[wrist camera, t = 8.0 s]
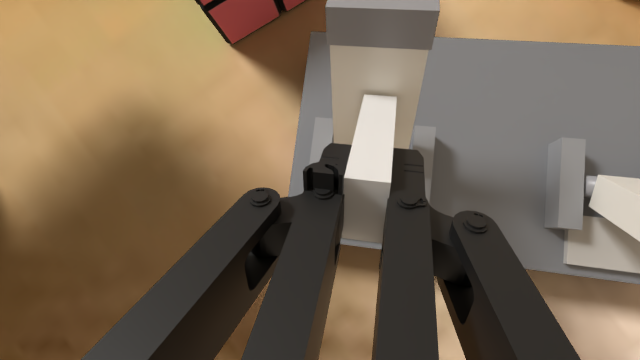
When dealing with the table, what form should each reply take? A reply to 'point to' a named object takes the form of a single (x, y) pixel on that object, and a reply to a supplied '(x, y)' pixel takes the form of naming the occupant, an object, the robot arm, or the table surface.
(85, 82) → the table surface
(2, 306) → the table surface
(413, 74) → the lever
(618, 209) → the lever
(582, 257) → the console
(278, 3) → the puzzle cube
